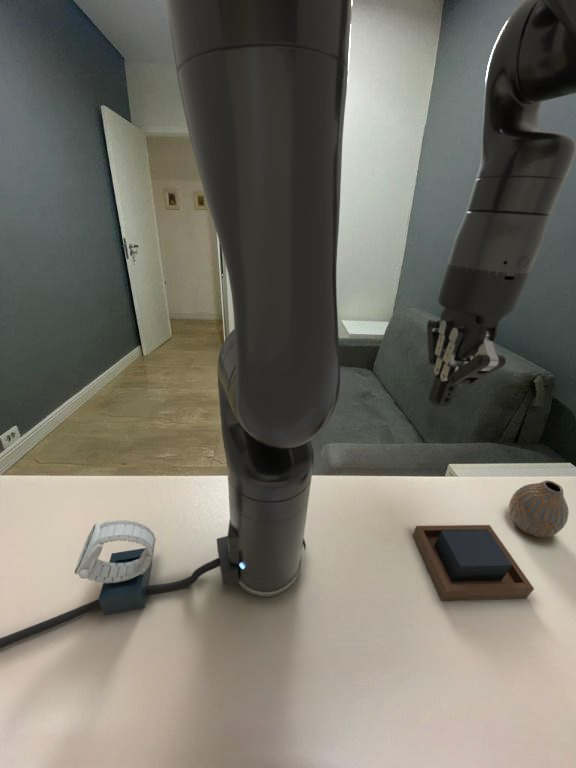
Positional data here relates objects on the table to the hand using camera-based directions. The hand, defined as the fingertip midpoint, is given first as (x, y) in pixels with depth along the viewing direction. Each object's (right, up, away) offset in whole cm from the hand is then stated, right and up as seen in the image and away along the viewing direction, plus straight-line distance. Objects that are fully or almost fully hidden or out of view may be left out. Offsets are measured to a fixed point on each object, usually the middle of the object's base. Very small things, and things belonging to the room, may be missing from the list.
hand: (438, 403), depth 40 cm
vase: (+19, -20, +9) cm, 29 cm away
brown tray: (+5, -23, +3) cm, 24 cm away
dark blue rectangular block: (+5, -22, +3) cm, 23 cm away
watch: (-40, -23, -2) cm, 46 cm away
